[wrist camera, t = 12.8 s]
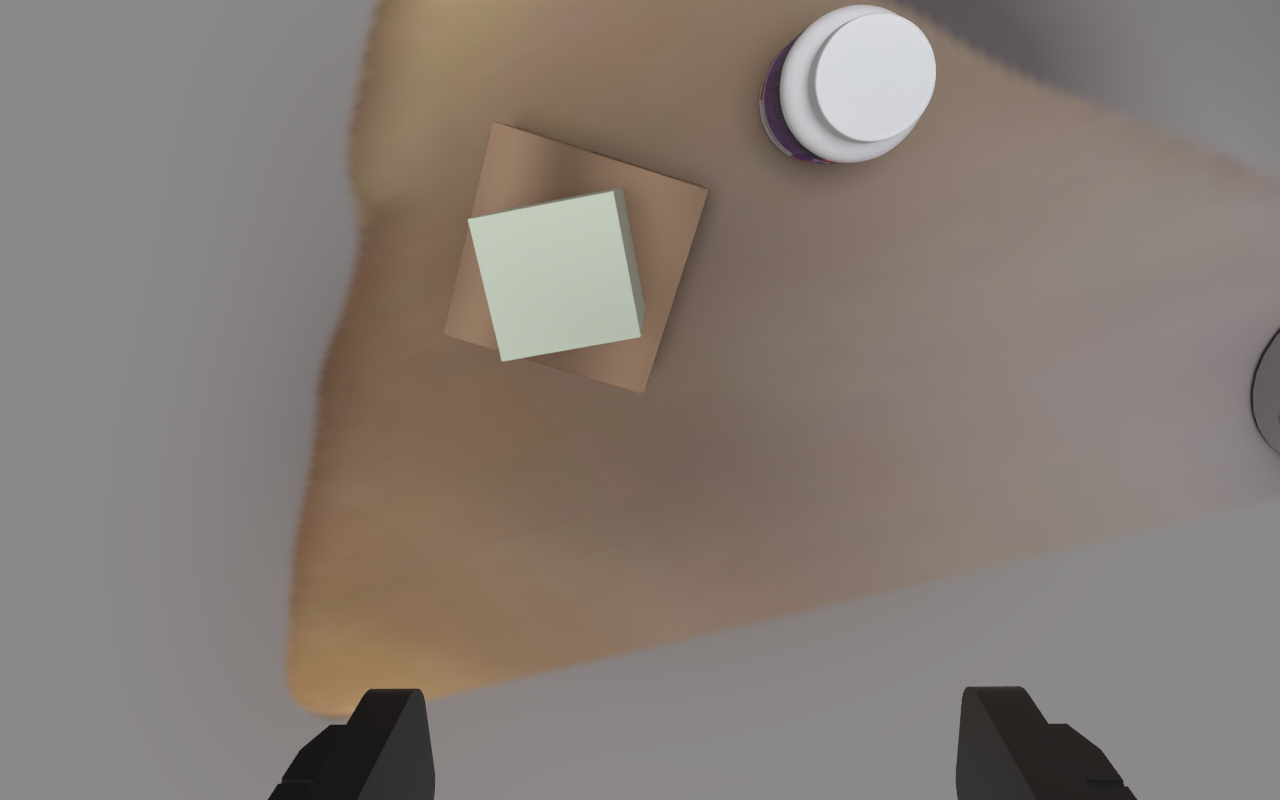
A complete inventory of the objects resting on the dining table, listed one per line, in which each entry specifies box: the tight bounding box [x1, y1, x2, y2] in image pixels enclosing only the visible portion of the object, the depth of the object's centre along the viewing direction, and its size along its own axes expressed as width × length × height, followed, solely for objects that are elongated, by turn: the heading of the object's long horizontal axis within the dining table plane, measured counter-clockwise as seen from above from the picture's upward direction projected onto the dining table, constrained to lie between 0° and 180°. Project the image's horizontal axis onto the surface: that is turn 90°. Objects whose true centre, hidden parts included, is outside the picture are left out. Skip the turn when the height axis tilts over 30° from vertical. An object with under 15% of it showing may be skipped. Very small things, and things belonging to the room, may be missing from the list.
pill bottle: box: [759, 5, 936, 164], centre depth 31 cm, size 5×5×10 cm
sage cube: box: [468, 187, 645, 362], centre depth 30 cm, size 5×5×6 cm
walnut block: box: [443, 122, 709, 394], centre depth 35 cm, size 9×9×5 cm
